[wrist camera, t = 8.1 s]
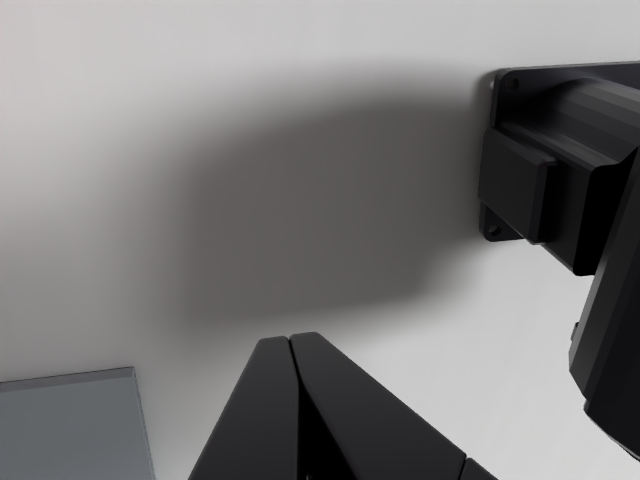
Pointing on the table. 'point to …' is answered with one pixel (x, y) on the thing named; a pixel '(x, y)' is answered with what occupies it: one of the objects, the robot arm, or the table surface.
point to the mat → (74, 428)
